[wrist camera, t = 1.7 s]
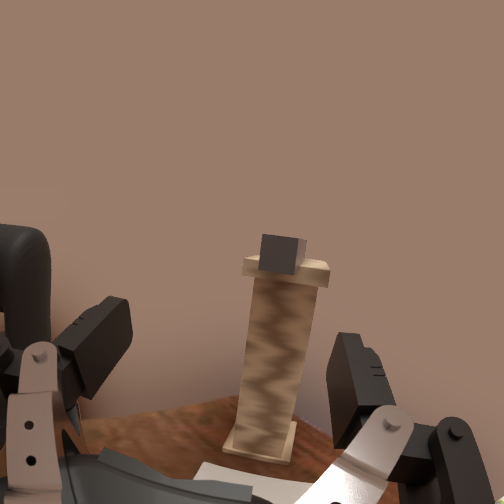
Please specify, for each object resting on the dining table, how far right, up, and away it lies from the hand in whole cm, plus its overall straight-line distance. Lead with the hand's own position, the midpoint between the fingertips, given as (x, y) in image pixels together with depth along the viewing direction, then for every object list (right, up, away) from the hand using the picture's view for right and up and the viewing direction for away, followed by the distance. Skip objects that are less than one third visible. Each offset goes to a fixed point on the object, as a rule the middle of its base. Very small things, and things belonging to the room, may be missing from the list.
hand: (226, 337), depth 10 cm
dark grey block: (+5, +2, +25) cm, 26 cm away
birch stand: (+2, -30, +32) cm, 43 cm away
